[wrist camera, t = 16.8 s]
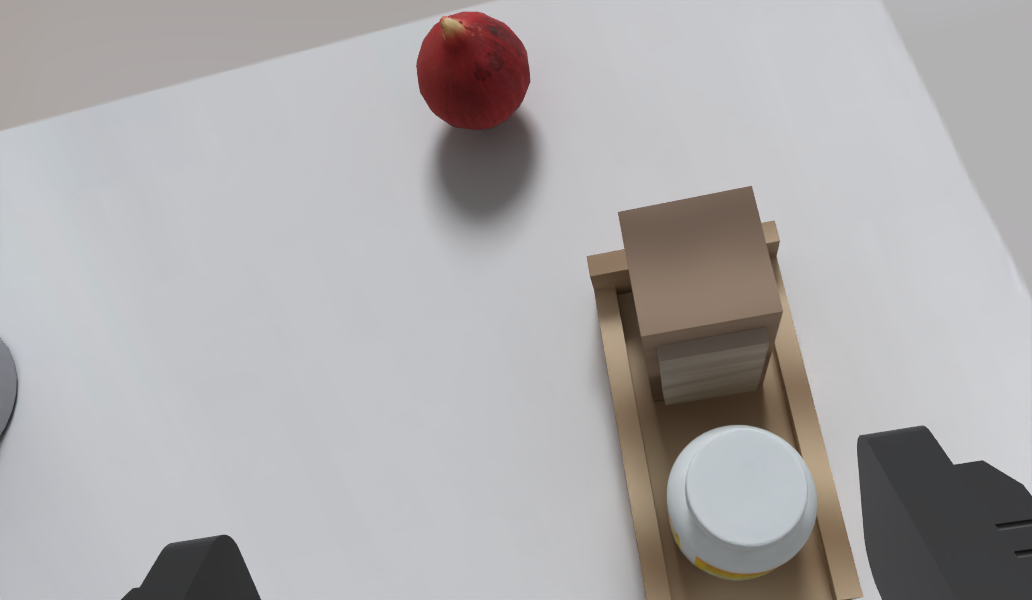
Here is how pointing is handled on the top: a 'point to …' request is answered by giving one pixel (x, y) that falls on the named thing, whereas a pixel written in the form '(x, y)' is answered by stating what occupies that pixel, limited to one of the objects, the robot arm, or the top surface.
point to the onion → (472, 70)
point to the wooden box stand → (710, 380)
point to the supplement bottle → (740, 502)
